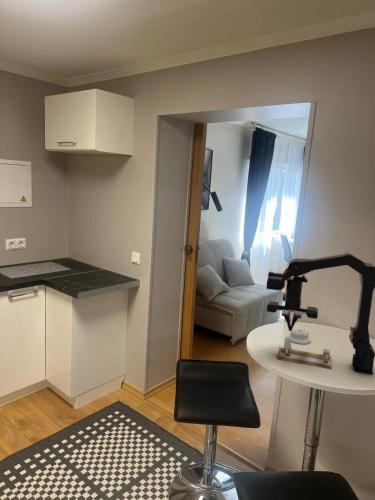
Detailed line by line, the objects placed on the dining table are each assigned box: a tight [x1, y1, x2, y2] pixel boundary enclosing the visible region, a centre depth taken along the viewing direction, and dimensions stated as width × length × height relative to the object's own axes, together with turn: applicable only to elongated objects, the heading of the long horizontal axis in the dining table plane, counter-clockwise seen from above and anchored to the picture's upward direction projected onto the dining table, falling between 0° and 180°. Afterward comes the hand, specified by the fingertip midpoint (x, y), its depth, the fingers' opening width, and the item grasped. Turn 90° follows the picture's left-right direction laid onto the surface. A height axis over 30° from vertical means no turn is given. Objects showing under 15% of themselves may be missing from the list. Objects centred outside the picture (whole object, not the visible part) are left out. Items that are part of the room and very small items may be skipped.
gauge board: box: [276, 346, 333, 370], centre depth 145 cm, size 20×9×4 cm, turn 70°
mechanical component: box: [287, 327, 312, 345], centre depth 164 cm, size 10×4×10 cm
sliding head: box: [283, 336, 293, 355], centre depth 147 cm, size 2×6×5 cm, turn 160°
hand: (290, 330), depth 145 cm, fingers closed
